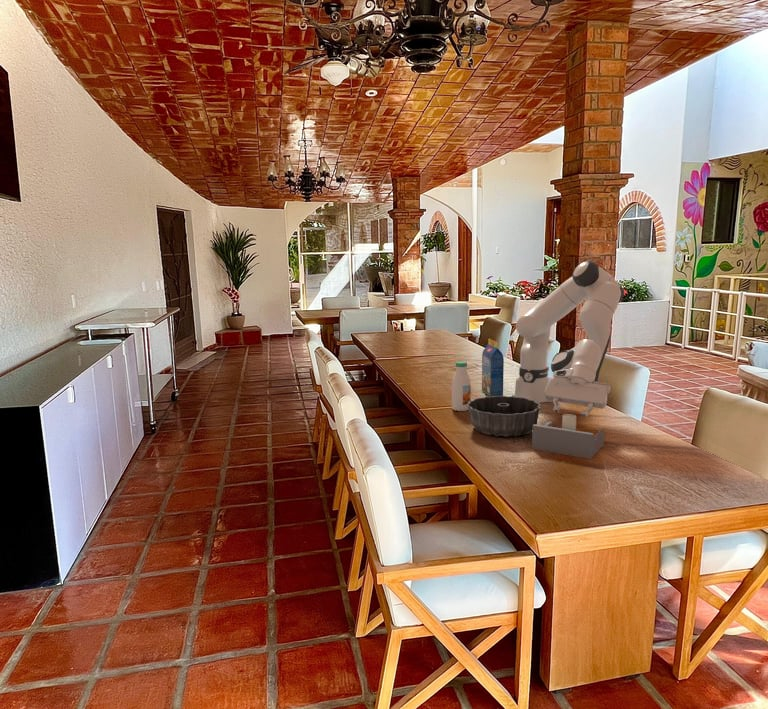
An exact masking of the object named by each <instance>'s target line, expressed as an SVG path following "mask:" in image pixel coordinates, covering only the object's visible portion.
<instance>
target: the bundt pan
mask: <svg viewBox="0 0 768 709" xmlns="http://www.w3.org/2000/svg"><path fill="white" fill-rule="evenodd" d="M467 407H468V408H469V410H468V413H469V418H470V423H471V424H472V426H473V427H474V429H475V430H476V431H477V432H479V433H481V434H482V433H483V434H485V435H489V436H492V435H494V437H496V438H498V437H499V436H503V437H504V438H505V437H506V438H507V437H511V436H513V437H516V438H517V437H519V436H520V435H522V436H524V435H526V434H528V433H531V432H532V430H533V425H534V424H536V425H538V419H539V413H540V410H541V409H542V408H541V403H537V402H535V401H534V400H530V399H527V398H522V397H514V396H512V395H511V396H510V395H509V396H506V395H503V396H492V397H490V396H484V397H478V398H474V399H471V401H469V402H468V404H467Z"/></svg>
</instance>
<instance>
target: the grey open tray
mask: <svg viewBox="0 0 768 709" xmlns="http://www.w3.org/2000/svg"><path fill="white" fill-rule="evenodd" d="M552 424H553V423H552V421H547V422H546V423H544V424H543V425H542V424H537V425H536V424H534V425H533V430H532V431H531V432H532V433H531V435H532V436H531V439H532V440H531V449H532V450H539V451H544V452H549V453H555V454H561V455H567V456H570V457H571V456H572V457H577V458H583V459H589V460H592V459H593V458H594V457H595V455H596V454H597V453H598V452H599V451H600V449H601V448H602V447H603V446H604V444H605V429H603V428H600V430H599V431H597V433H596V434H595V435H594V433H592V432H588V431H587V432H586V431H580V430H576V431H575V430H568V429H562V427H560V428H559V427H554V426H552Z"/></svg>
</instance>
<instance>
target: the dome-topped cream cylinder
mask: <svg viewBox="0 0 768 709" xmlns="http://www.w3.org/2000/svg"><path fill="white" fill-rule="evenodd" d="M561 419H562V420H561V421H562V422H561V428H562V429H568V430H575V431H577V415H576V414H573V413H572V414H571V413H564V414H562V418H561Z"/></svg>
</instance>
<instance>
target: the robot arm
mask: <svg viewBox="0 0 768 709" xmlns="http://www.w3.org/2000/svg"><path fill="white" fill-rule="evenodd" d="M624 297H625V290H624V287H623V286H622V285H621V284H620V283H619V282H617V280H616V279H615V278H614V277H613V276H612V275H611V274H610V273H608V271H606V270H604V269H603V268H602V267H600V266H599V264H597V263H596V262H594V261H592V260H584V261H582V262H580V263H579V264H578V265H577V266H576V267H575V269H574V270H573V271H572V276H570V277H569V278H568V279H566V280H565V281H564V282H562V283H561V284H560V285H559V286H558V287H556V288H555V289H554V290H553V291H551V292H550V294H548V295H547V296H546V297H544V298H543V299H542V300H540V301H539V302H537V303H536V304H535V305H533V306H532V307H531V308H529V309H528V310H527V311H525V313H523V314H522V315H521V316H519V318H518V319H517V321H516V324H515V329H516V332H517V333H518V334H519V335H520V336H521V337H522V338H523V341H522V345H521V348H520V364H519V365H520V367H519V368H518V375H519V376H518V377H517V378H516V380H515V387H514V388H515V389H514V393H512V394H511V396H514V397H522V398H527V399H530V400H534V401H535V402H537V403H539V404H541V403H553V405H554V406H553V409H552V410H553V412H554V413H560V412H559V411H560V405H558V404H559V403H564V404H571V405H577V406H584V407H587V408H585V409H582V412H581V416H582V417H584V418H587V417H588V416H589V414H590V413H591V412H592V411H594V408H596V409H604V408H606V407H607V403H608V395H609V394H610V393H611V389H612V388H611V385H610V384H608V383H607V382H600V381H599V376H600V371H601V368H602V366H603V363H604V359H605V356H606V354H607V351H608V347H609V346H610V342H611V337H612V336H611V331H610V329H611V322H612V318H613V317H614V314H615V312H616V310H617V308H618V306H619V304H620V303H621V302H622V300H623V298H624ZM584 301H585V302H584ZM583 302H584V303H583ZM582 303H583V304H582ZM580 304H582V305H583V306H582V307H581V309H580V311H579V317H578V318H579V322H580V324H581V327H582V328H583V330H584V331H585V334H586V335H587V337H588V338H585V339H584V338H583V339H581V340H580V341H578V343H577V344H576V345H575V346H574V347H572V348H571V349H567V350H562V351H559V352H557V353H556V354H555V355H554V356H553V358H552V360H551V364H550V367H549V366H547V359H548V347H549V346H548V345H549V341H550V335H551V329H552V326H553V325H554V324H556V323H558V322H559V321H560V320H561V319H563V318H564V317H566V315H568V314H570V312H572V311H573V310H574V309H575V308H577V307H578V306H579V305H580ZM549 369H551V372H552V375H553V376H552V378H549Z"/></svg>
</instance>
